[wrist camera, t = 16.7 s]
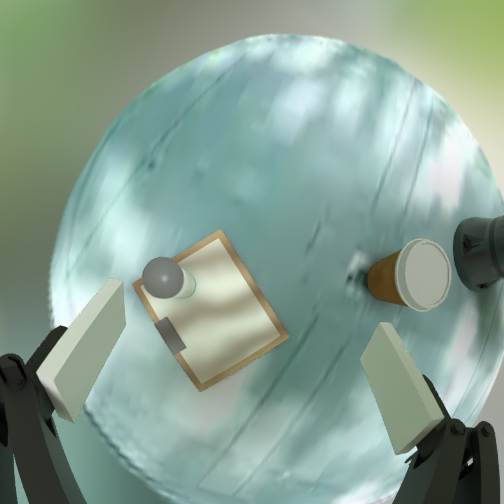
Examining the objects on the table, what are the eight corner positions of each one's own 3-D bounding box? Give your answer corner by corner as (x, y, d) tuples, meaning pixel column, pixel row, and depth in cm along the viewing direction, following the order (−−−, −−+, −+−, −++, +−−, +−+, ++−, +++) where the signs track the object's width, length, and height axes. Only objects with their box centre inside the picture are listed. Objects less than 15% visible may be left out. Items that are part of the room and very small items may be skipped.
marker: (202, 289, 37) (189, 284, 25) (179, 304, 37) (155, 306, 24) (187, 265, 38) (168, 249, 25) (165, 280, 37) (135, 270, 24)
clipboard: (288, 336, 38) (291, 338, 37) (200, 390, 36) (199, 394, 34) (221, 230, 40) (220, 226, 38) (133, 284, 38) (129, 283, 36)
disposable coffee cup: (388, 321, 40) (436, 325, 28) (347, 288, 40) (389, 284, 29) (413, 273, 42) (461, 264, 30) (375, 239, 42) (419, 221, 30)
